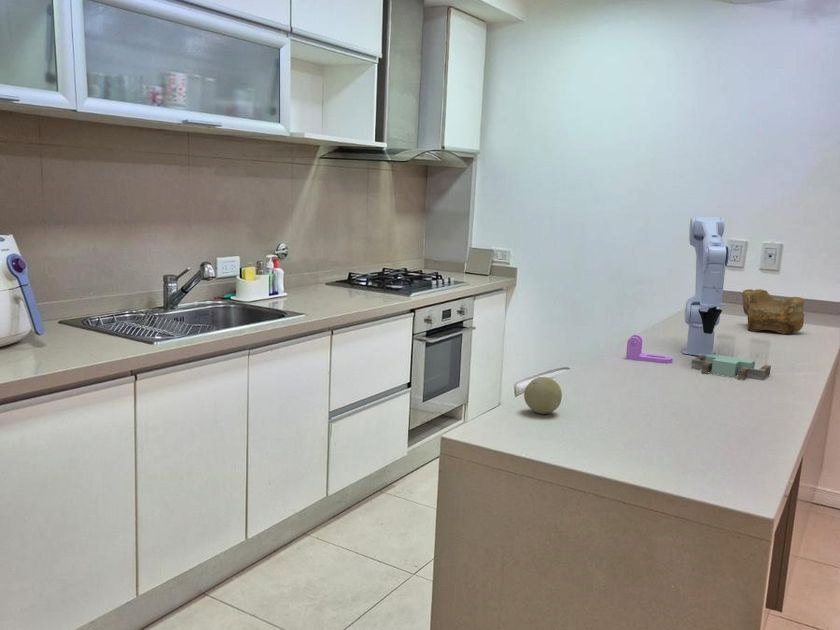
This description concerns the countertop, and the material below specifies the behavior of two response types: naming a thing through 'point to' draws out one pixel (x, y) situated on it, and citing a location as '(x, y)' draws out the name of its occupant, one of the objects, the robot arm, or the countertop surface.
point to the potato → (543, 395)
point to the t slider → (728, 364)
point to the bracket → (636, 353)
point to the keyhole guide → (742, 373)
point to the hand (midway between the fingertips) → (707, 333)
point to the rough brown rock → (772, 312)
